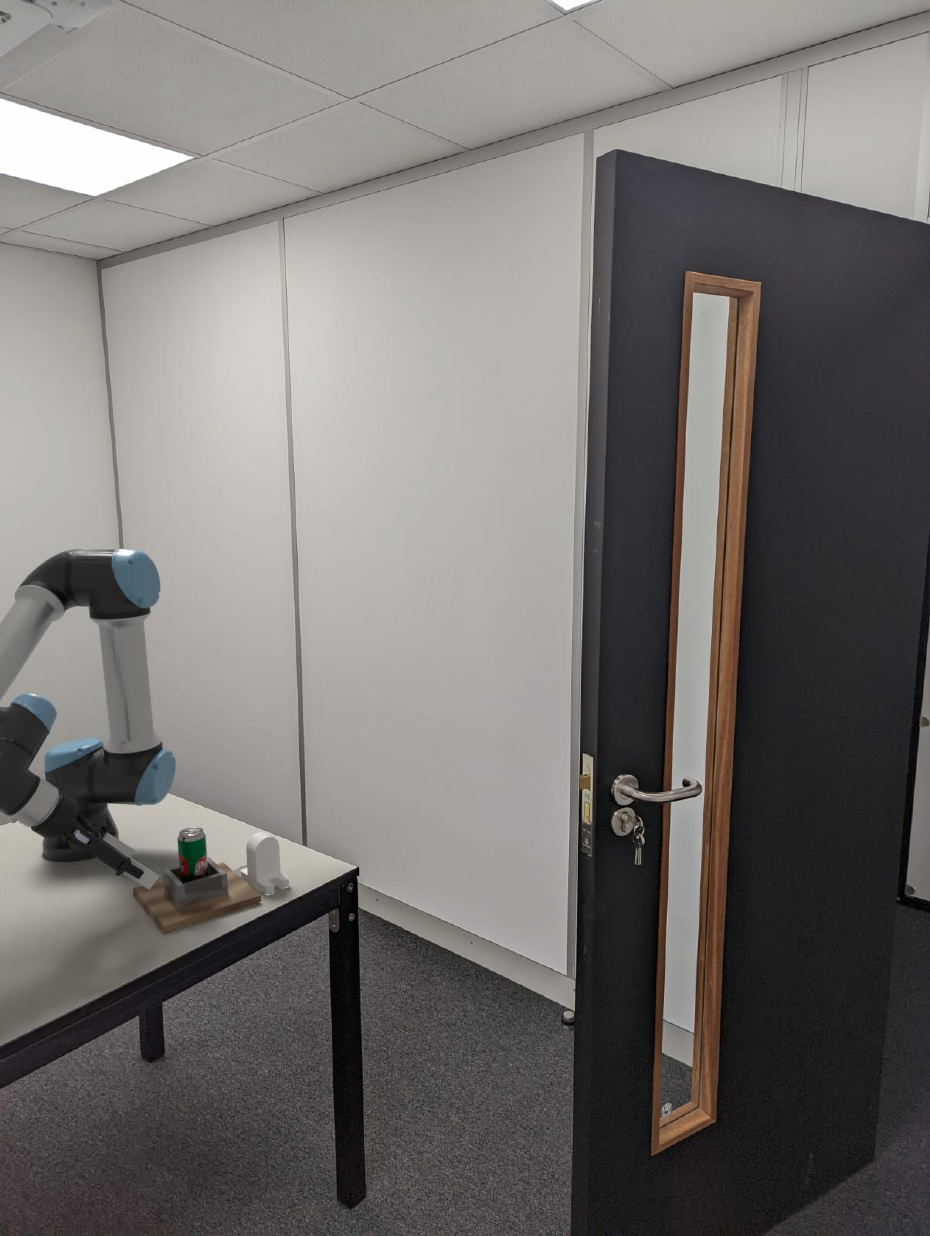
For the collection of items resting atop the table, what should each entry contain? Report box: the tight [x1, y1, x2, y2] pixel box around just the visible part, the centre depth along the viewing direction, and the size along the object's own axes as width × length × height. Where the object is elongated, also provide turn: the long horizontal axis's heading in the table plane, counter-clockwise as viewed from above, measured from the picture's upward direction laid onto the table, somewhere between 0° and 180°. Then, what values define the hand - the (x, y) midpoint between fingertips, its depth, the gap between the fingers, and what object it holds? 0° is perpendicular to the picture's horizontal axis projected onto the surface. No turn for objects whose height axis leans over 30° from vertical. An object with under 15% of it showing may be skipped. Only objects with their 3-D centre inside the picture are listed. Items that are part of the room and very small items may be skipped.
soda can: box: [176, 826, 208, 884], centre depth 162 cm, size 5×5×12 cm
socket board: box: [132, 856, 262, 934], centre depth 163 cm, size 18×18×6 cm
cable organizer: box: [240, 831, 290, 895], centre depth 169 cm, size 5×10×10 cm, turn 44°
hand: (141, 868), depth 156 cm, fingers open, 13 cm apart
